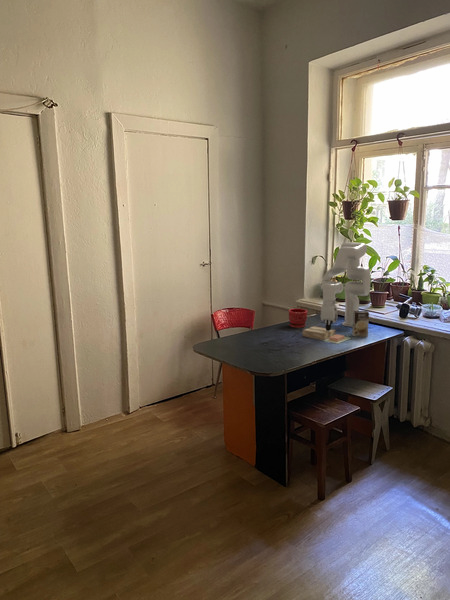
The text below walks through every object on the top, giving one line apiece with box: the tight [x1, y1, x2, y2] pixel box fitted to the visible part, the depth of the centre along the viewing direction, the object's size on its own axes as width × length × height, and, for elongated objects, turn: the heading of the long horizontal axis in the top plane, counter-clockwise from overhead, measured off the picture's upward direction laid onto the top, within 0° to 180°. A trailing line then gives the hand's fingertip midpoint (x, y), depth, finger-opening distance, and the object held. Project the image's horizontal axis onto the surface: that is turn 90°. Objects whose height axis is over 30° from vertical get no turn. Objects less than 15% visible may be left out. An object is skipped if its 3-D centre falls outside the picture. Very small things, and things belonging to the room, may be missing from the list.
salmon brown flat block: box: [329, 333, 346, 342], centre depth 283 cm, size 9×6×2 cm, turn 135°
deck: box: [302, 325, 336, 341], centre depth 293 cm, size 14×16×4 cm
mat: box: [322, 336, 352, 345], centre depth 284 cm, size 16×11×1 cm, turn 136°
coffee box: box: [351, 310, 370, 338], centre depth 290 cm, size 9×6×16 cm
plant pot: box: [288, 308, 308, 329], centre depth 317 cm, size 13×13×12 cm
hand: (328, 330), depth 287 cm, fingers closed
